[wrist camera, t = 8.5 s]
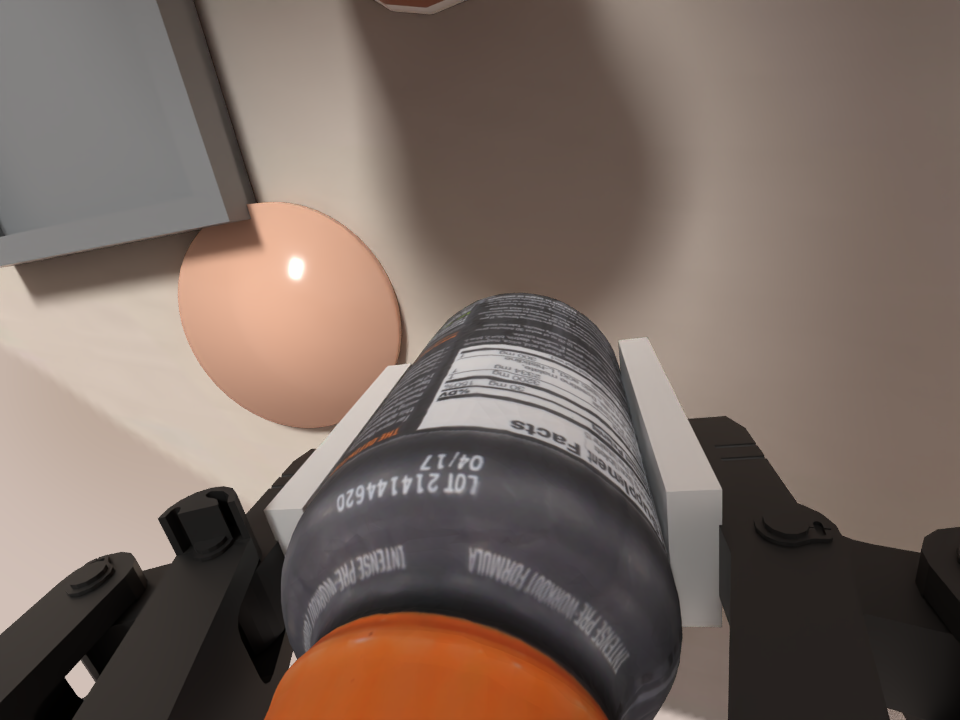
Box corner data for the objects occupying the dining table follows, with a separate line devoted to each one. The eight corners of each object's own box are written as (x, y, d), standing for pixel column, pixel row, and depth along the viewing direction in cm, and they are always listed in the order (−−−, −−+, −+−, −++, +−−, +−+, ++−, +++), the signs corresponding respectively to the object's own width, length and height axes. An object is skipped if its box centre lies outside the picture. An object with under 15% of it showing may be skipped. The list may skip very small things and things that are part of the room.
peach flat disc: (155, 224, 18) (142, 225, 18) (369, 181, 17) (362, 181, 16) (233, 429, 21) (224, 435, 21) (423, 411, 20) (419, 418, 19)
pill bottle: (483, 486, 16) (337, 1038, 6) (392, 340, 15) (-11, 747, 5) (653, 426, 14) (861, 1088, 4) (568, 250, 13) (562, 608, 3)
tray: (-158, -83, 16) (-239, -112, 15) (129, -206, 14) (70, -259, 12) (12, 265, 20) (-37, 273, 19) (260, 217, 18) (229, 221, 16)
